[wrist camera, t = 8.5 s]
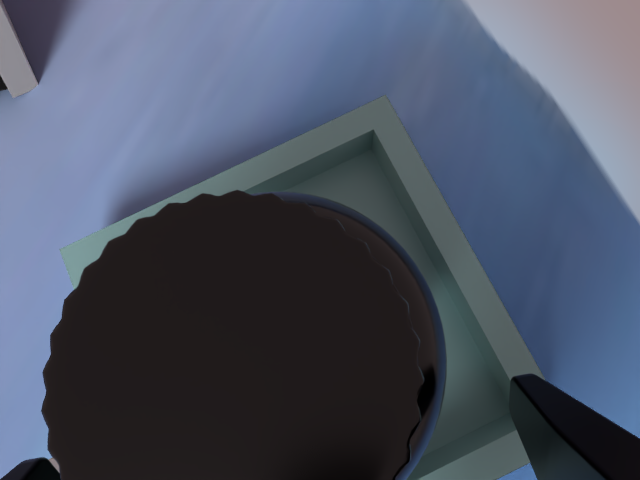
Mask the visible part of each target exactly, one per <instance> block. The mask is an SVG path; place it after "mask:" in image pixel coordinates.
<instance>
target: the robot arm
mask: <svg viewBox="0 0 640 480" xmlns="http://www.w3.org/2000/svg"><path fill="white" fill-rule="evenodd" d="M509 410H510V414H511V418H512V420H513V423H514V425H515V427H516V430H517V432H518V434H519V437H520V439H521V441H522V444H523V446H524V449H525V451H526V453H527V456H528V458H529V460H530V463H531V465H532V468H533V470H534V472H535V475H536V477H537V479H538V480H640V438H638V437H636V436H635V435H633V434H632V433H630V432H628V431H627V430H625V429H623V428H622V427H620V426H619V425H617V424H615V423H614V422H612V421H610V420H609V419H607V418H606V417H604V416H602V415H601V414H599V413H597V412H596V411H594V410H592V409H591V408H589V407H588V406H586V405H584V404H583V403H581V402H579V401H578V400H576V399H575V398H573V397H571V396H570V395H568V394H566V393H565V392H563V391H562V390H560V389H558V388H557V387H555V386H553V385H552V384H550V383H549V382H547V381H545V380H544V379H542V378H540V377H539V376H537V375H535V374H533V373H528V374H523V375H517V376H513V377H512V378H511V381H510V392H509ZM0 480H60V473H59V472H58V470H57V469H56V468H55V467H54V466H53V465H52V463H51V462H50V461H49V460H48V459H47V458H44V457H42V458H35V459H29V460H25V461H23V462H21V463H20V464H18V465H17V466H16V467H15V468H14V469H12V470H11V471H10V472H9V473H7V474H6V475H5V476H4V477H3V478H1V479H0Z"/></svg>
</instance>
